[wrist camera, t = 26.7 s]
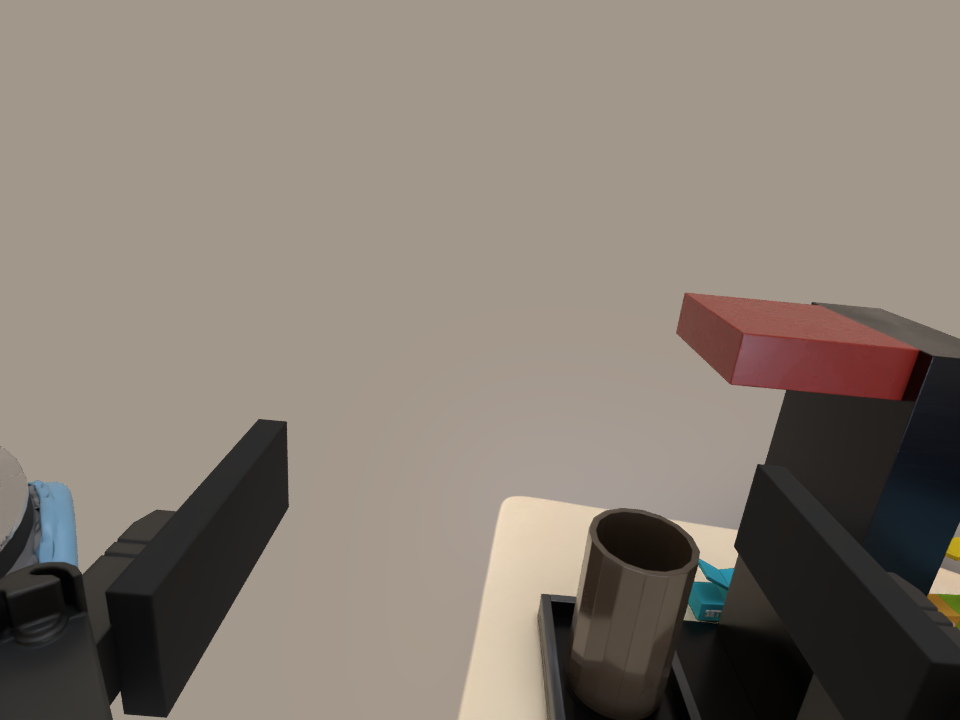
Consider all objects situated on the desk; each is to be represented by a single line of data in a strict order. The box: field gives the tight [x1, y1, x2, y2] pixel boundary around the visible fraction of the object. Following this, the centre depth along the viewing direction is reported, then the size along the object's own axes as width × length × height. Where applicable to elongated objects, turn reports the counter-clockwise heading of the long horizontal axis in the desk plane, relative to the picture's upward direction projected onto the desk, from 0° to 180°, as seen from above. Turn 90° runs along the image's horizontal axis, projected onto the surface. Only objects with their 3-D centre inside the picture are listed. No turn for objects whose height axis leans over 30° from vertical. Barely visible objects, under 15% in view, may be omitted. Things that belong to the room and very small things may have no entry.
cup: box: [565, 508, 700, 720], centre depth 43 cm, size 8×8×13 cm
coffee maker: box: [538, 293, 960, 720], centre depth 40 cm, size 21×14×31 cm, turn 89°
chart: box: [688, 537, 960, 630], centre depth 53 cm, size 30×3×15 cm, turn 92°
